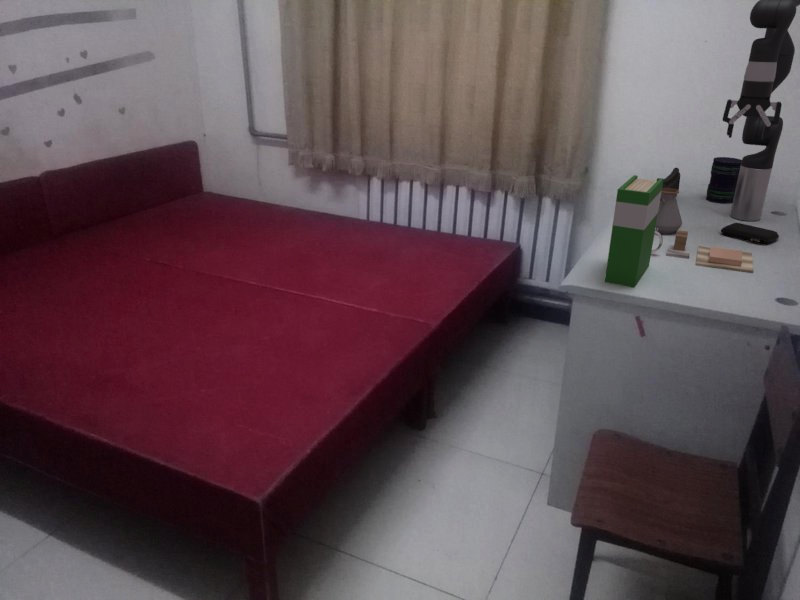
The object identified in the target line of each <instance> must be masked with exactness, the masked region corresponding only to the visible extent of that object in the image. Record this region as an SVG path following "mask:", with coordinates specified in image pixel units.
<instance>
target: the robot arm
mask: <svg viewBox="0 0 800 600" xmlns="http://www.w3.org/2000/svg"><path fill="white" fill-rule="evenodd" d="M799 6H800V0H758V1H756V3H754V5H753V7H752V9H751V11H750V13H749V21H750V24H751V26H753V27H754V28H755V29H756V28H757V29H766V30H765V34H764V37H759V38H756V39H754V40H753V41H752V44H751V46H750V53H749V57H748V62H747V65H746V68H745V73H744V75H743V80H742V81H743V82H742V87H741V91H740V95H739V98H738V100H734V99H730V98H729V99H727V101H726V105H725V107H724V112H723V116H722V122H724V123H727V124H728V127H727V129H726V136H728V138H730V139H731V138H732V136H733V133H734V132H733V131H734V125H735V122H737V120H738V119H740V118H741V117H746V118H745V121H744V126H743V130H742V135H741V136H742V137H741V141H742V143H743V144H744V145H751V146H763V147H764V149H762V150H761V151H759V152H756V153H752V154H747V155H744V156H743V157H742V159H741V160H742V162H741V167H740V171H739V176H738V181H737V185H736V190H735V195H734V199H733V203H731V204H732V205H731V209H730V213H729V216H730V217H731V218H733V219H736V220H740V221H746V222H747V221H748V222H755V221H760V220H761V217H762V213H763V210H764V209H763V208H764V205H765V201H766V197H767V192H768V188H769V184H770V181H771V180H770V179H771V173H772V172H773V171H772V170H773V166H774V161H775V156H776V153H777V148H778V146H779V141H780V138H781V136H782V132H783V131H782V130H783V127H784V120H783V118H782V117H781V111H782V102H781V101H777V102H772V101H771V96H772V93H774V91H776V89H777V88H778V87H779V86H780V85H781V84H782V83H783V82H784V81H785V80H786V79H787V77H788V76H789V75H790V74H791V73H790V72H791V70H792V64H793V62H794V56H795V52H796V51H795V49H796V48H795V44H794V41H793V39H792V36H791V34H790V32H789V28H790V27H791V25H792V24H793V21H794V18H795V17H796V14H797V7H799ZM735 106H737V108H738V111H737V112H736V113H735V114H734V115H733V116H732V117H731V118H730V117H729V114H730V110H731V109H733V108H734V107H735ZM770 107H772V110H773V111H774V116H773V115H771V116H770V115H767V114H766V111H767V110H769V108H770Z"/></svg>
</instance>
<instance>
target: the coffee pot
mask: <svg viewBox="0 0 800 600" xmlns="http://www.w3.org/2000/svg"><path fill="white" fill-rule="evenodd" d="M679 193H680V190H679V191H678V190H676V189H672V188H662V192H661V198H660V204H659V209H658V215H657V221H656V230H657V228H658V232H659V233H660V234H664V235H666V234H668V233H669V234H673V233H674V232H675V231H676V232H677V230H680V228H681V227H682V225H683V221H682V215H681V213H680V209H679V208H680V207H679V205H678V201H677V195H678V194H679Z"/></svg>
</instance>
